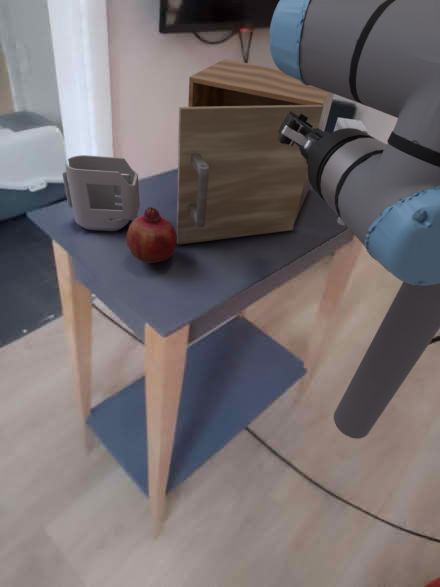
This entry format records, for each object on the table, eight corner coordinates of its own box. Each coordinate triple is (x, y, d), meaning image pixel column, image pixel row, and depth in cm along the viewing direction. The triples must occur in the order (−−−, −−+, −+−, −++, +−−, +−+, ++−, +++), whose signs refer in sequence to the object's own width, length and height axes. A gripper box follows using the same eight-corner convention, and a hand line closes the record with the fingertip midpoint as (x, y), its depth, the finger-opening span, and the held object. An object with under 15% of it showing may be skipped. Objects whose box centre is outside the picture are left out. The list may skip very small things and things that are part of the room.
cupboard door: (305, 244, 74) (341, 117, 59) (185, 261, 67) (191, 121, 52) (290, 227, 79) (320, 104, 63) (176, 241, 71) (178, 106, 56)
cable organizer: (137, 235, 72) (133, 173, 64) (68, 231, 71) (55, 168, 63) (141, 216, 77) (138, 156, 69) (76, 212, 76) (66, 151, 68)
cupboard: (292, 227, 79) (323, 103, 63) (185, 199, 84) (189, 76, 68) (308, 190, 92) (337, 79, 76) (215, 167, 97) (224, 58, 81)
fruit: (161, 241, 71) (160, 191, 65) (185, 264, 67) (187, 213, 60) (120, 254, 67) (115, 202, 61) (143, 280, 63) (140, 227, 56)
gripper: (281, 182, 39) (239, 126, 58) (377, 230, 43) (310, 163, 62) (325, 108, 35) (265, 74, 54) (425, 169, 40) (338, 118, 59)
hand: (289, 122), depth 58 cm, fingers closed
